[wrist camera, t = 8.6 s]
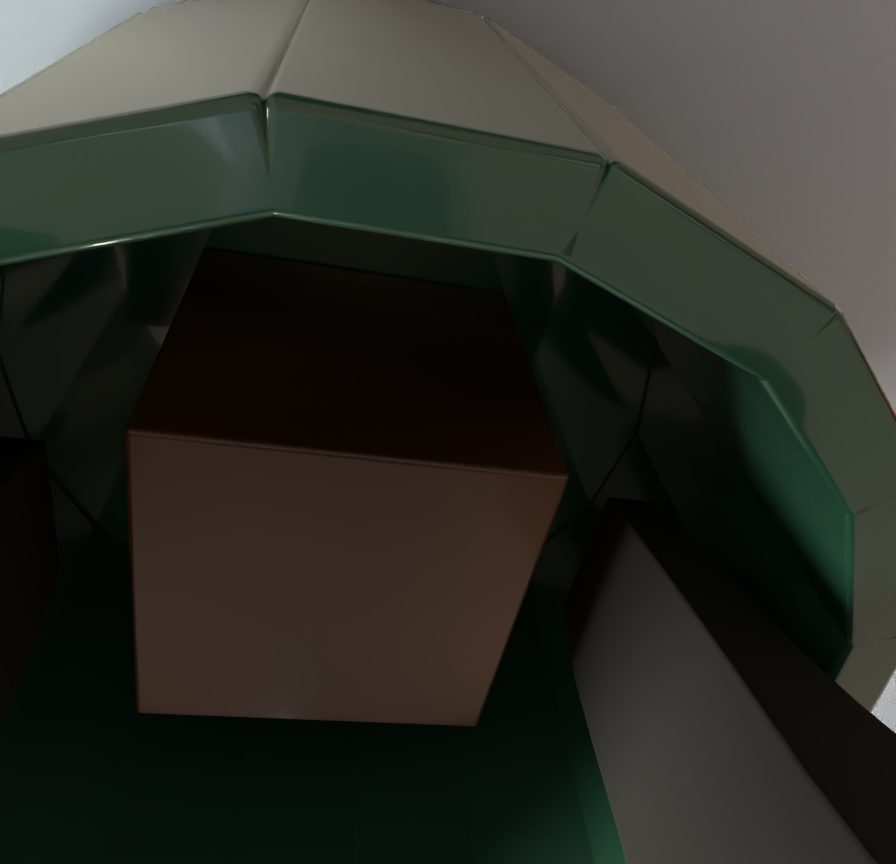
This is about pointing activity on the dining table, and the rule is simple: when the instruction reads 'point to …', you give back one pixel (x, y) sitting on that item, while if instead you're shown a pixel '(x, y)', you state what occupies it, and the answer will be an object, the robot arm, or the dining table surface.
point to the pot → (434, 261)
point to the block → (333, 496)
